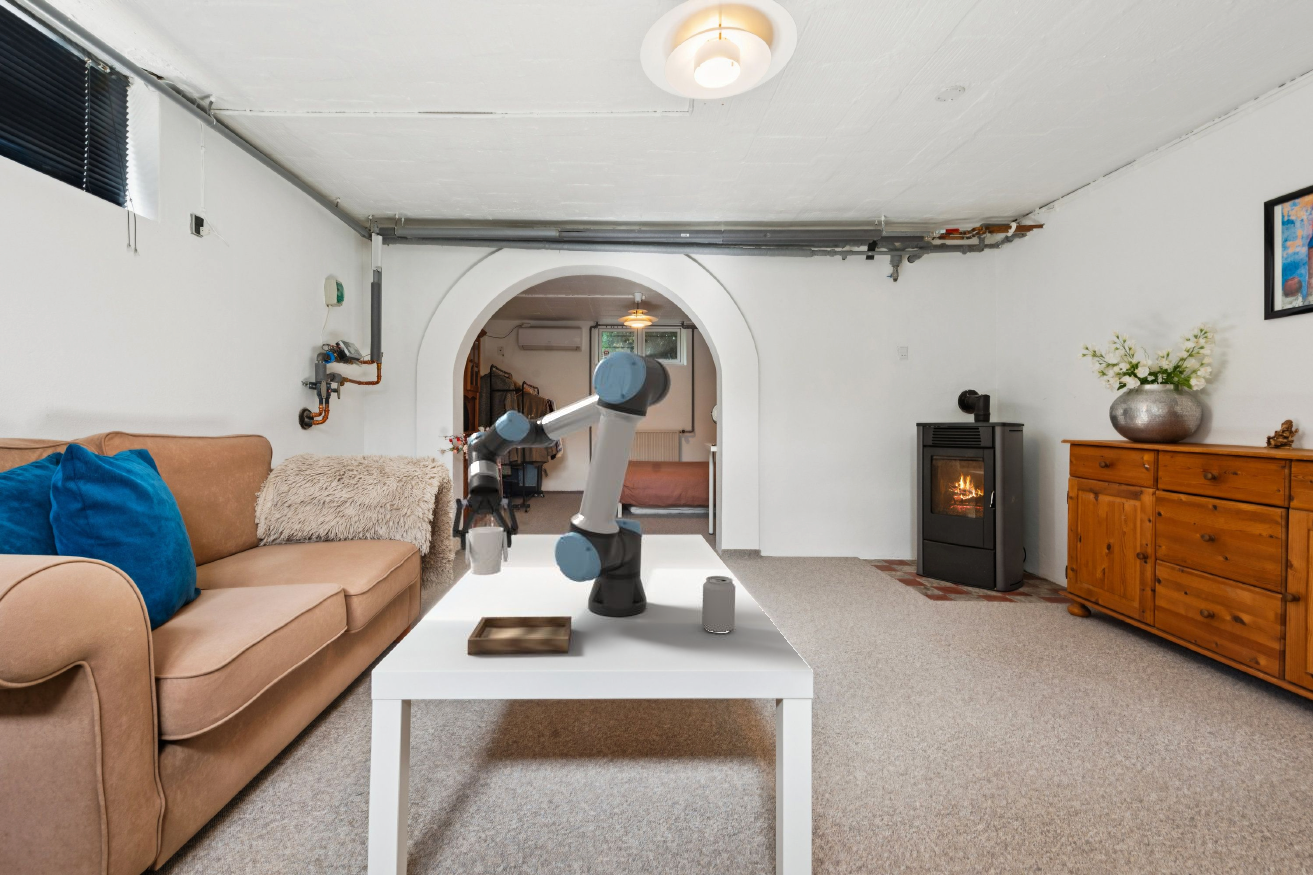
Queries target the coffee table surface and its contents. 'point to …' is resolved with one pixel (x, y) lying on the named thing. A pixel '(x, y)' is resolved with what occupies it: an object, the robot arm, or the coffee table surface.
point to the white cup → (486, 550)
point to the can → (718, 604)
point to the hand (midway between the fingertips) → (487, 559)
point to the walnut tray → (521, 635)
